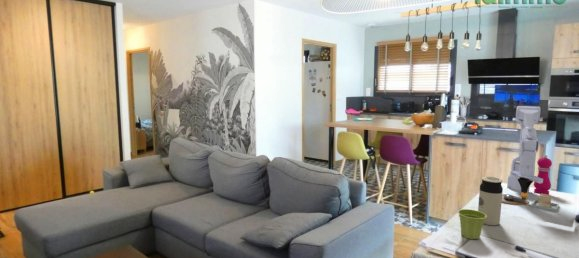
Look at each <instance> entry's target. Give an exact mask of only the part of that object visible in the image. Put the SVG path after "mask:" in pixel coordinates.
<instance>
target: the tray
mask: <svg viewBox="0 0 579 258" xmlns="http://www.w3.org/2000/svg"><path fill="white" fill-rule="evenodd" d="M535 203H538V205H539V199H534V200H533V201H532V203H531V204H530V205H531V206H530V207H531V208H535V209H539V210H544V211H545V210H546V211H551V212H555V213H557V212H558V209H559V207H560V204H559V203H557V202H551V206H554V207H555V208H553V207H550V208H549V207H543V206H538V205H537V204H535Z"/></svg>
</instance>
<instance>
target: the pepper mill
mask: <svg viewBox="0 0 579 258" xmlns="http://www.w3.org/2000/svg"><path fill="white" fill-rule="evenodd" d="M552 165H553V162H552V160H551V159H550V158H548V155H547V154H544V155H543V156H542V157H540V158H539V159H538V160H537V171H538V175H536V176H537V177H539V178H542V179H543V183H537V182H534V181H533V186H534V191H533V193H534V194H536V195H537V194H538V195H540V194H547V195H550V191H549V190H550V189H551V188H552V183H551V180H550V175H549V173H550V171H551V167H552Z"/></svg>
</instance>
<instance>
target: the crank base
mask: <svg viewBox="0 0 579 258" xmlns="http://www.w3.org/2000/svg"><path fill="white" fill-rule="evenodd" d="M504 195H505V194H504V193H502V203H501V204H504V205H509V206H519V207H520V206H527V205H529V204H530V202H529V200H528V199H527V200H526V201H525V202H521V201H516V200H506V199H504ZM513 196H514V197H519V198H521V196H517V195H513Z"/></svg>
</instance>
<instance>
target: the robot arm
mask: <svg viewBox="0 0 579 258" xmlns="http://www.w3.org/2000/svg"><path fill="white" fill-rule="evenodd" d="M540 117H541V107H540V106H530V105H529V106H528V105H527V106H525V105H523V106H522V105H521V106H520V105H518V106H516V110H515V121H516V123H517V124H519V125H520V134H519V135H520V136H519V146H518V147H519V150H518V151H519V152H518V155H517V156H515V157H513V158H512V160H511V165H510V166H511V168H510V173H509V175H508V176H507V184H506V189H509V190H513V191H516V192H520V193H521V192H527V193H532V192H531V191H530V186H531V185H532V184H533V183H534V182H537V183H543V179H542V178H539V177H537V176H538V175H535V173H536V159H537V153H538V151H539V148H540V147H539V145H540V143H539V139H538V138H537V134H538V133H537V129H536V128H534V125H535V124H538V122H539V120H540ZM532 194H533V193H532Z"/></svg>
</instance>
